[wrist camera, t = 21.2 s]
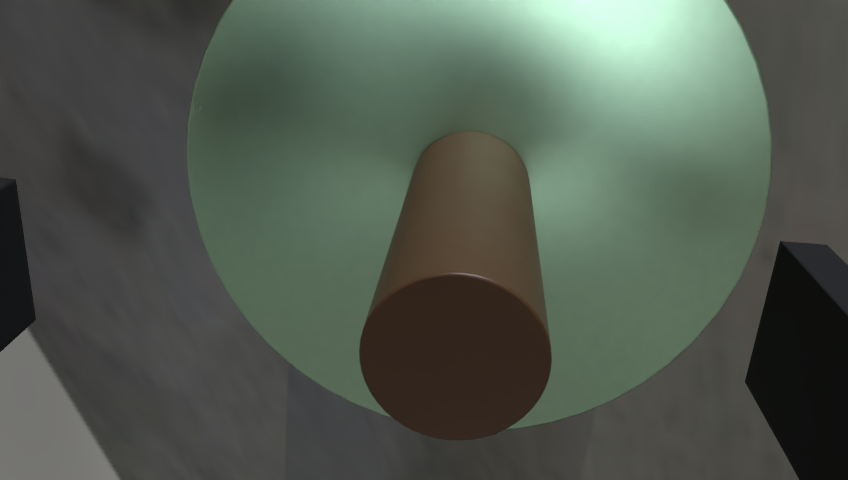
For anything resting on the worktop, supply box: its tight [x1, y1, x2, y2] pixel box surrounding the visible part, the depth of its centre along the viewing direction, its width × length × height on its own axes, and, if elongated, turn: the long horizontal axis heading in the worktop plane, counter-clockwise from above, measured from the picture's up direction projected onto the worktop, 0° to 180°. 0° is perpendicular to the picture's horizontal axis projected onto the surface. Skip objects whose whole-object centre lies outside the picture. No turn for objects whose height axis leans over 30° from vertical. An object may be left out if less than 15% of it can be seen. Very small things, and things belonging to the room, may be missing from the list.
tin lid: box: [187, 0, 772, 440], centre depth 16 cm, size 14×14×9 cm
